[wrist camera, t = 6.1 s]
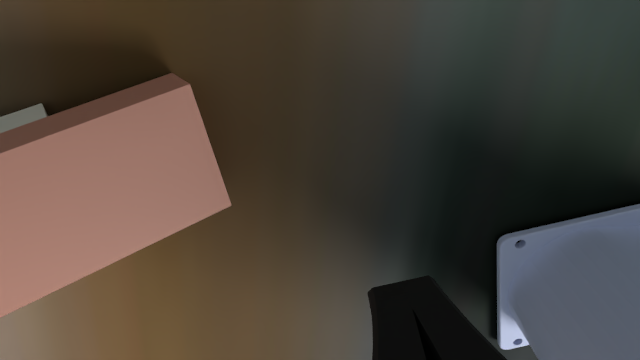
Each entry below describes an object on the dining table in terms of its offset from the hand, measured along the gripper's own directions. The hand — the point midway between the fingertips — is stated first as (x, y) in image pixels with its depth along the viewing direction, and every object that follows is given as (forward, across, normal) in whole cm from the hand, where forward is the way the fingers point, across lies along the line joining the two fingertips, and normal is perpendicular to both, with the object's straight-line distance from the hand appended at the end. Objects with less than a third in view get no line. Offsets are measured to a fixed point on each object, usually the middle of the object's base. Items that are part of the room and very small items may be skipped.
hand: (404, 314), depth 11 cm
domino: (+10, +5, -1) cm, 11 cm away
